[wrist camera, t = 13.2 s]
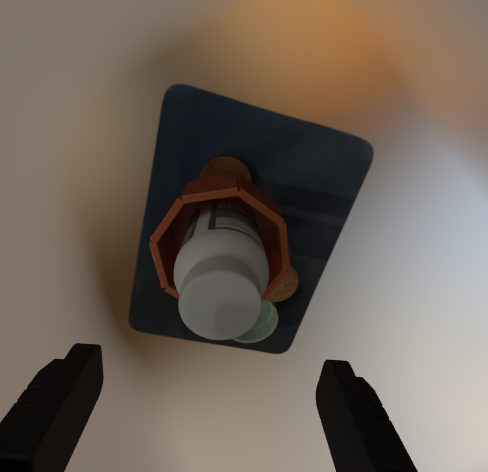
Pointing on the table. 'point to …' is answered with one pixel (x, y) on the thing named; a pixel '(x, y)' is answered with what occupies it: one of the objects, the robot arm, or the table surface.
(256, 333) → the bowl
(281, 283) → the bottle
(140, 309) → the table surface
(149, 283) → the table surface
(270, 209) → the raised bowl
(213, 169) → the stand
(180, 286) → the pill bottle
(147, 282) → the table surface
